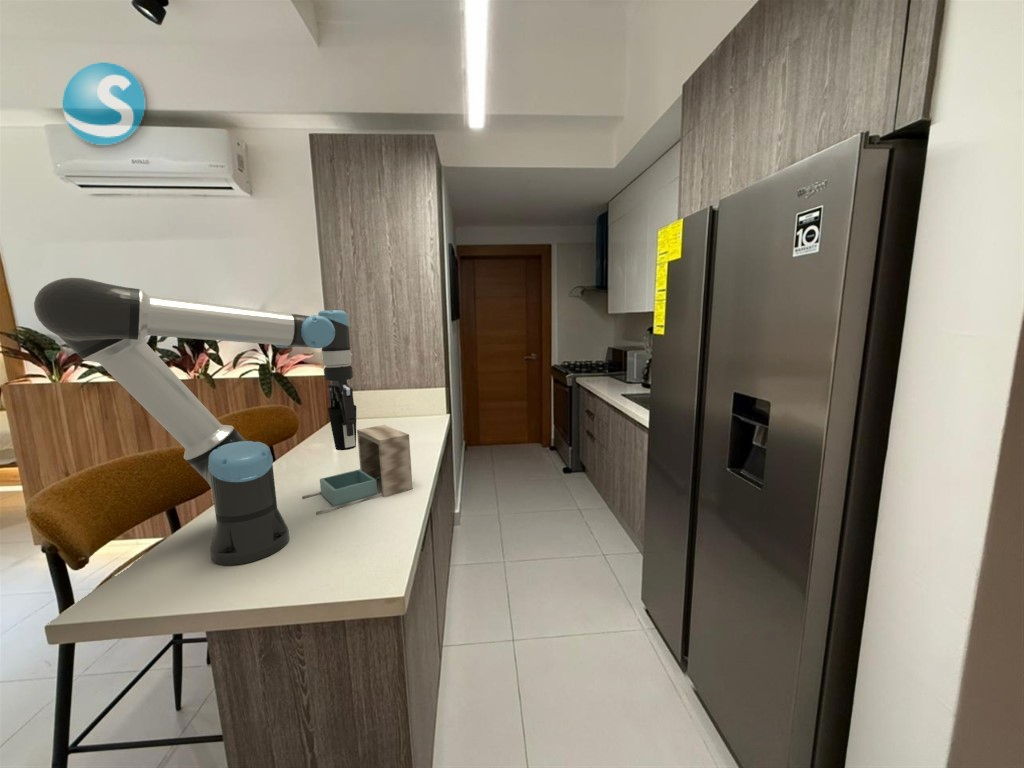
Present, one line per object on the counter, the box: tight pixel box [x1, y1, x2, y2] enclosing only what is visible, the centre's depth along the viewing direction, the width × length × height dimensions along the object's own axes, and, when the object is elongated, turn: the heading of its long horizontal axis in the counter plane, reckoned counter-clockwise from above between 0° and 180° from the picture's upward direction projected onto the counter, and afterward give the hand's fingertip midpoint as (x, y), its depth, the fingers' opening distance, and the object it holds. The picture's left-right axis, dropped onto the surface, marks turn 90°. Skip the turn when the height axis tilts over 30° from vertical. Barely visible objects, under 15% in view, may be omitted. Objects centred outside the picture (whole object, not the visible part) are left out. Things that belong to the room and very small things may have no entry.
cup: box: [327, 404, 357, 451], centre depth 121 cm, size 8×8×12 cm
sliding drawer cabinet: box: [301, 424, 414, 515], centre depth 124 cm, size 27×18×17 cm, turn 130°
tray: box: [319, 468, 378, 507], centre depth 123 cm, size 12×13×5 cm
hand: (345, 443), depth 122 cm, fingers closed on cup, 8 cm apart
